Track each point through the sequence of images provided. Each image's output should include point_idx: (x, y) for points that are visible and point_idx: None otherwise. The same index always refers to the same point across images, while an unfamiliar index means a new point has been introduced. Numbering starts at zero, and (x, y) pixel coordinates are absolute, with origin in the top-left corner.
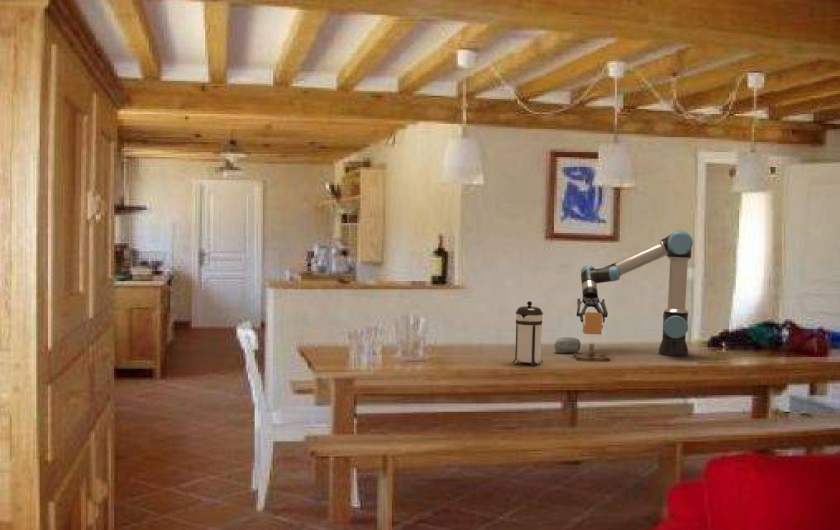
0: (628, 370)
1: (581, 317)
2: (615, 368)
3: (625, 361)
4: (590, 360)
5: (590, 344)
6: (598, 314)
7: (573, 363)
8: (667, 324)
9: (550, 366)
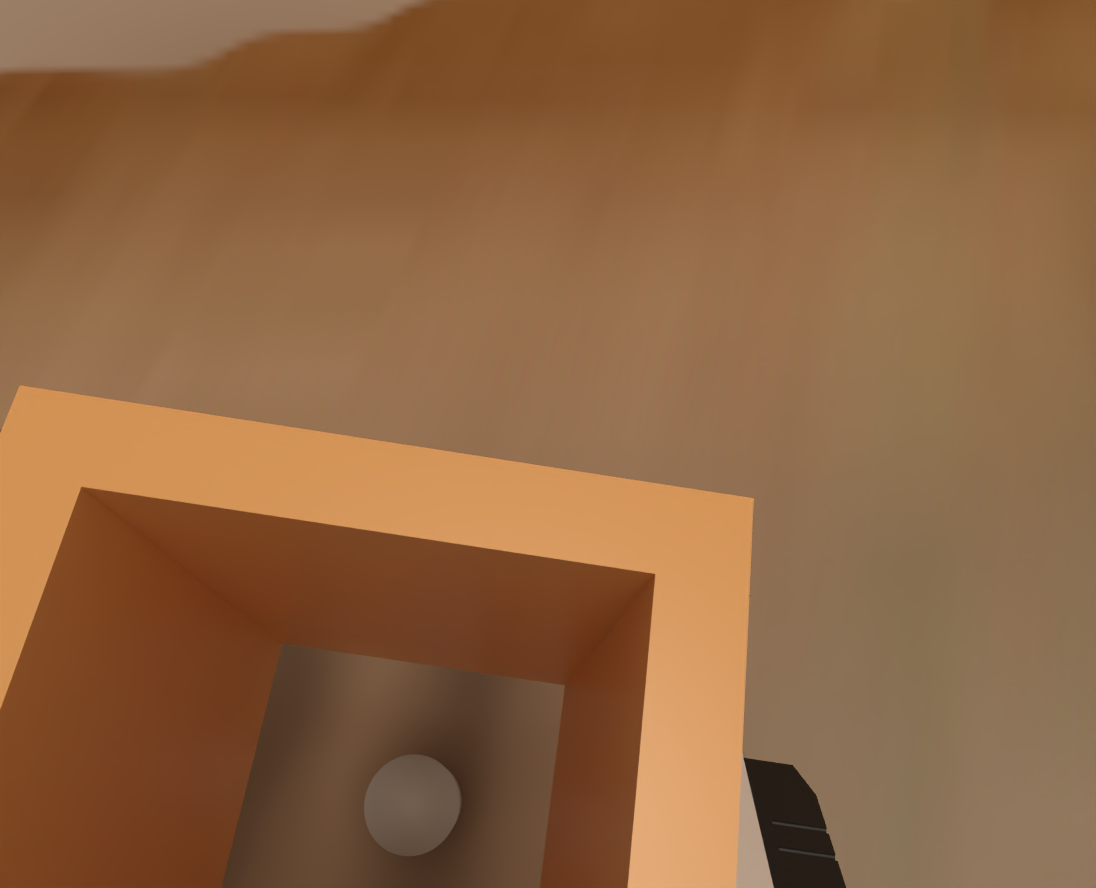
0: (287, 42)
1: (812, 870)
2: (377, 135)
3: None
4: None
5: (448, 773)
6: (185, 417)
7: (762, 416)
8: None
9: (1028, 239)
